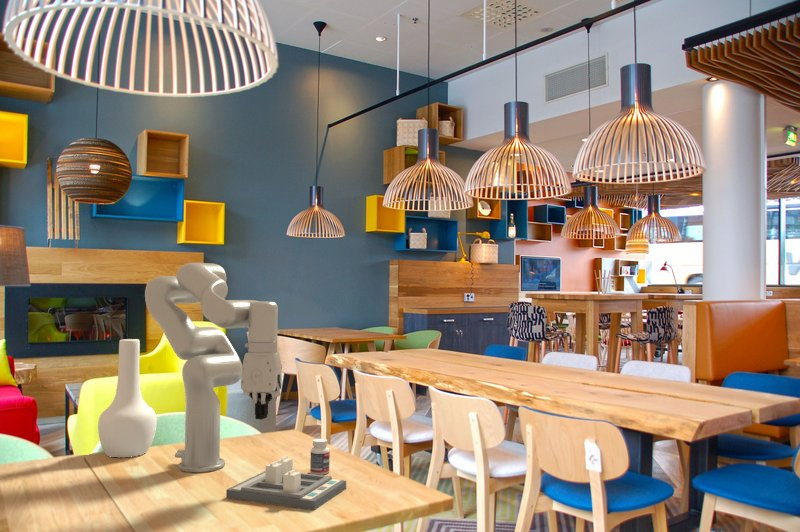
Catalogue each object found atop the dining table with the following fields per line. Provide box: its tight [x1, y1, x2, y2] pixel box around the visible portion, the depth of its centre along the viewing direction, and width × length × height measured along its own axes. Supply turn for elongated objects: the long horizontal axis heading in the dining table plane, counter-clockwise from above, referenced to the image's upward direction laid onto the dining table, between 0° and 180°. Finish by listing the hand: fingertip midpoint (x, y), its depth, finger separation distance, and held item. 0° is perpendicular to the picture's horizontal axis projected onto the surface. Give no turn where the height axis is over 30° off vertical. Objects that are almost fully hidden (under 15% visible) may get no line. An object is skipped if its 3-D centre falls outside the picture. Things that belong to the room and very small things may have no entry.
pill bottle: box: [309, 438, 331, 476], centre depth 175 cm, size 5×5×9 cm
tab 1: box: [265, 460, 282, 483], centre depth 158 cm, size 3×3×5 cm
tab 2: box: [276, 455, 293, 477], centre depth 163 cm, size 3×3×5 cm
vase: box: [97, 338, 158, 458], centre depth 195 cm, size 17×17×35 cm
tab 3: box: [283, 468, 302, 493], centre depth 151 cm, size 3×3×5 cm
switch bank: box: [225, 470, 347, 511], centre depth 157 cm, size 24×17×3 cm
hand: (261, 418), depth 166 cm, fingers closed
